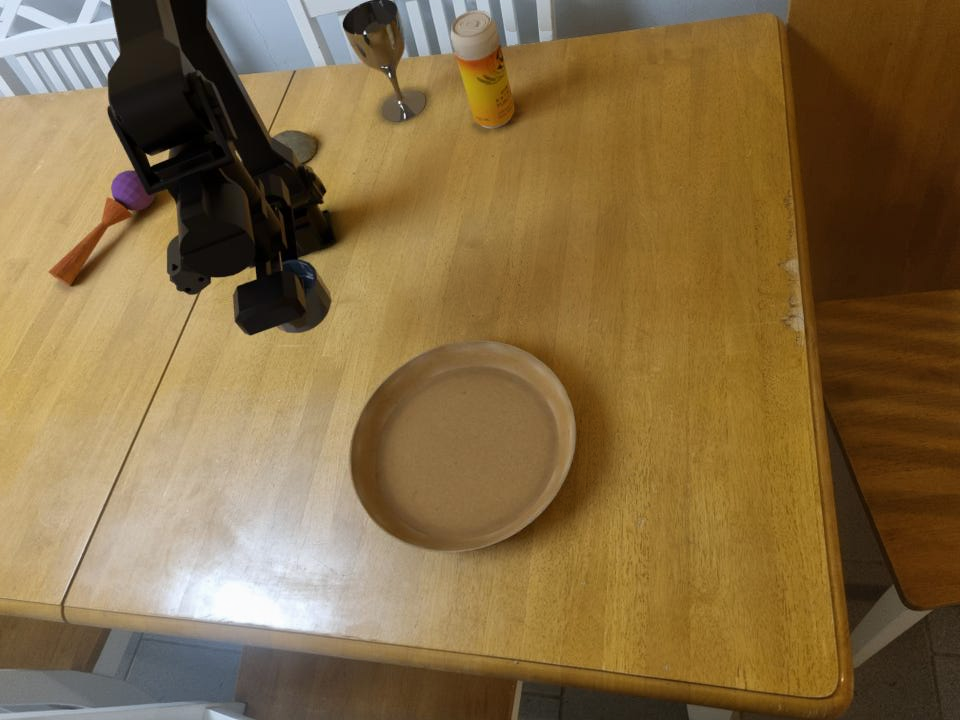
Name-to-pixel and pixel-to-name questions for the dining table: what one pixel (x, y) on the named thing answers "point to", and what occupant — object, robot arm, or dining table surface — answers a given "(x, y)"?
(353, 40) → the wine glass
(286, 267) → the bowl
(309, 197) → the robot arm
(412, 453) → the plant saucer
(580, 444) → the dining table surface
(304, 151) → the soupspoon
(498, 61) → the beer can
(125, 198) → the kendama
